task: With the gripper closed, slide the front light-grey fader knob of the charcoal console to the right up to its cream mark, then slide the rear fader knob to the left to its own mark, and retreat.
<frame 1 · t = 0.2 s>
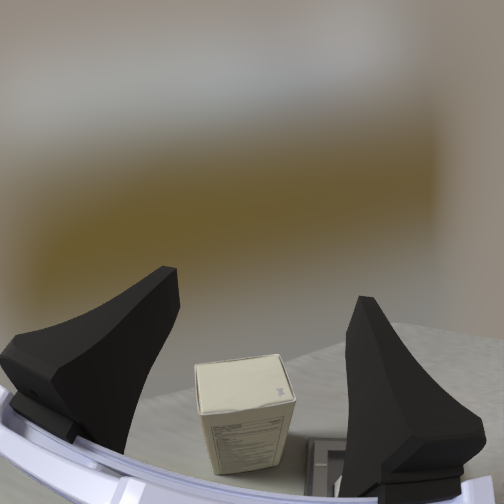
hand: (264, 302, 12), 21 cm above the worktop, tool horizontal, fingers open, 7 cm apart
skincare box: (241, 453, 26), on the worktop
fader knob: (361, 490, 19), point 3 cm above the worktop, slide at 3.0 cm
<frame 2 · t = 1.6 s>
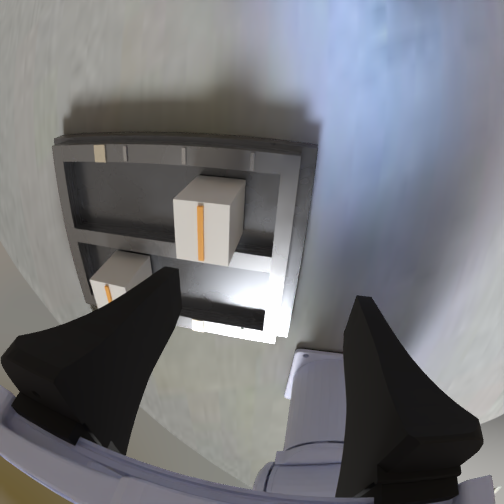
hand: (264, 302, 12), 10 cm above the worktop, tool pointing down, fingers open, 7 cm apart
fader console: (173, 232, 23), on the worktop
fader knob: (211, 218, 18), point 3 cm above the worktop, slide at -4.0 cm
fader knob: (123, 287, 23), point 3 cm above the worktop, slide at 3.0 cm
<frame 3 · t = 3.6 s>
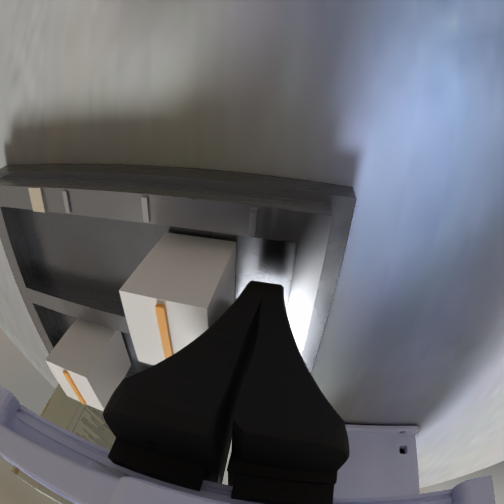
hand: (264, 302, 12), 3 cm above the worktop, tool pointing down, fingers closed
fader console: (147, 297, 17), on the worktop
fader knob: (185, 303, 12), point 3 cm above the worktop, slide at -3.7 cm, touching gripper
skincare box: (101, 390, 25), on the worktop
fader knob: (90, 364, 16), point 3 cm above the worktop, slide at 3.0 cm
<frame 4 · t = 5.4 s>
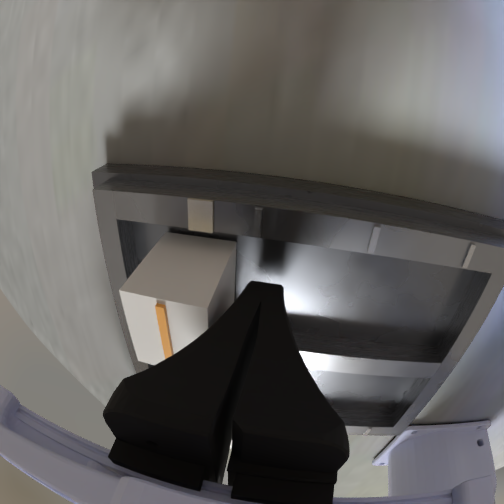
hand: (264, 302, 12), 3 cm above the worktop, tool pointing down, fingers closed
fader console: (294, 323, 16), on the worktop
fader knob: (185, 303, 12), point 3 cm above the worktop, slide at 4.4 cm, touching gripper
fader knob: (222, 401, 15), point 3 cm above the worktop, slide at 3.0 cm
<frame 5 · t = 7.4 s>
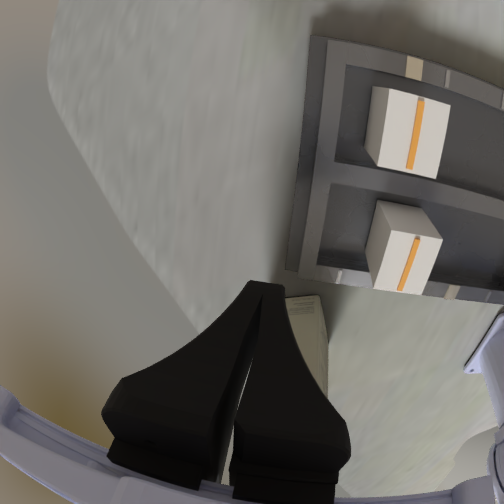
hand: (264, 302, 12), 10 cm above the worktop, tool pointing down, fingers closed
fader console: (440, 183, 18), on the worktop
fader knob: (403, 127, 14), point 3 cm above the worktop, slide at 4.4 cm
skincare box: (299, 323, 26), on the worktop
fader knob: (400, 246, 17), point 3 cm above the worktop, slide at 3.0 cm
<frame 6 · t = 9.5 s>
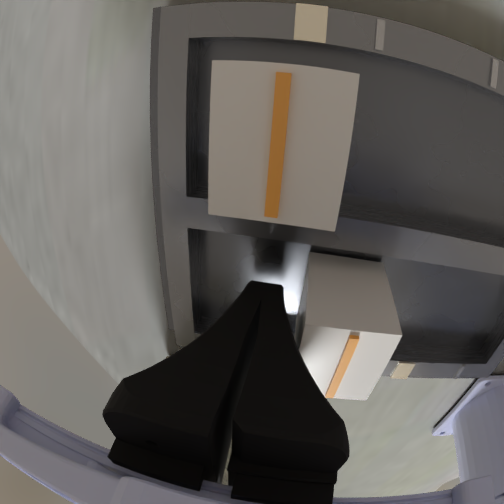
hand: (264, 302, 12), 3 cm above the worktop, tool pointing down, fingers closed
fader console: (389, 214, 12), on the worktop
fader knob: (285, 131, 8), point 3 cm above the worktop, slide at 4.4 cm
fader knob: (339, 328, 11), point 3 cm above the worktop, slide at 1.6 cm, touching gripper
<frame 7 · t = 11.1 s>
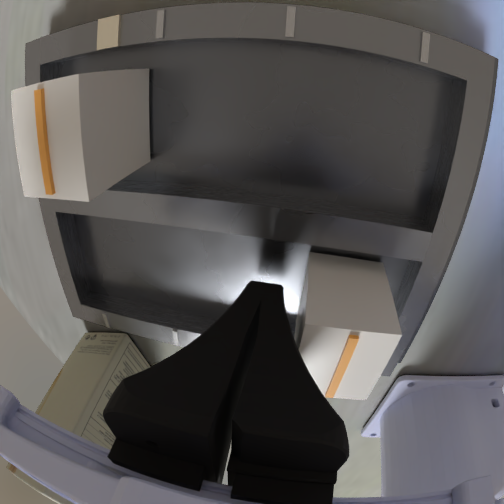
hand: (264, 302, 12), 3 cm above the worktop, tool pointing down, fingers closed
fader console: (231, 192, 13), on the worktop
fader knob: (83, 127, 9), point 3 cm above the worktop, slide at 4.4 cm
skincare box: (128, 359, 21), on the worktop
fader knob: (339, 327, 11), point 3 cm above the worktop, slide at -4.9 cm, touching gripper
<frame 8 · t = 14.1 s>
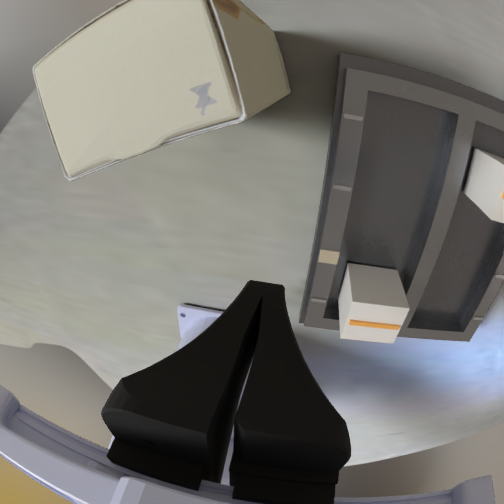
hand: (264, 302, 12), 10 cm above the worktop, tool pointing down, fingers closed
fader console: (425, 220, 19), on the worktop
skincare box: (232, 74, 17), on the worktop
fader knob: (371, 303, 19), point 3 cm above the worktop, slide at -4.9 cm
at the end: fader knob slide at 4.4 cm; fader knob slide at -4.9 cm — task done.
